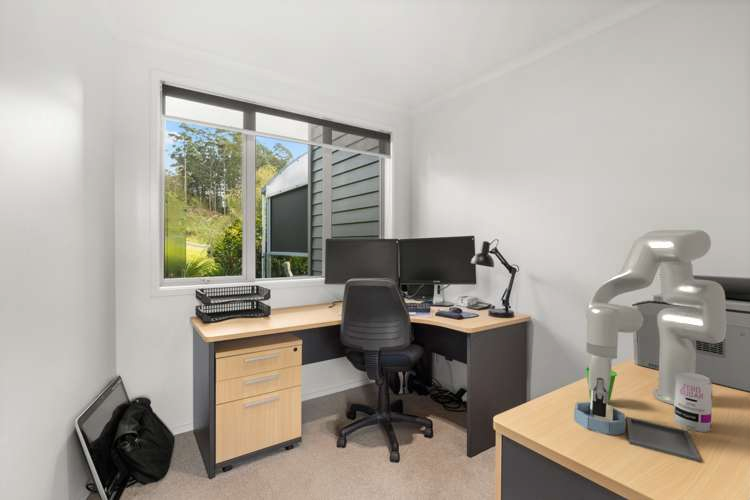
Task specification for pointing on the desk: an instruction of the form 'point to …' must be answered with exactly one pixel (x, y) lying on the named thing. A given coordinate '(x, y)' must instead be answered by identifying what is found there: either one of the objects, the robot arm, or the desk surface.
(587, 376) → the cup
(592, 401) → the white block
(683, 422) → the supplement can
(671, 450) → the tray
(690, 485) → the desk surface
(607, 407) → the beige rectangular block
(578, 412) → the bowl
